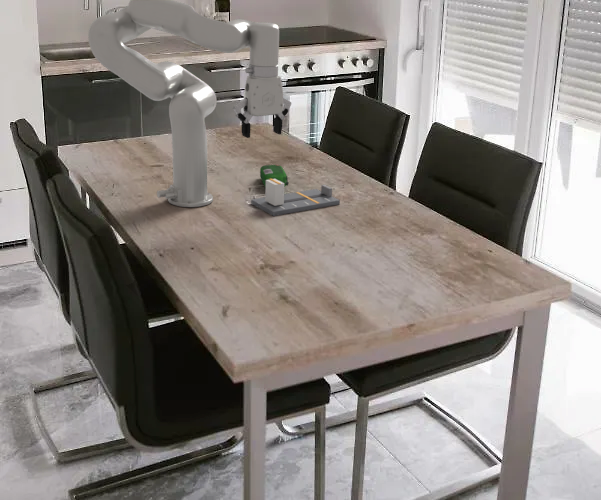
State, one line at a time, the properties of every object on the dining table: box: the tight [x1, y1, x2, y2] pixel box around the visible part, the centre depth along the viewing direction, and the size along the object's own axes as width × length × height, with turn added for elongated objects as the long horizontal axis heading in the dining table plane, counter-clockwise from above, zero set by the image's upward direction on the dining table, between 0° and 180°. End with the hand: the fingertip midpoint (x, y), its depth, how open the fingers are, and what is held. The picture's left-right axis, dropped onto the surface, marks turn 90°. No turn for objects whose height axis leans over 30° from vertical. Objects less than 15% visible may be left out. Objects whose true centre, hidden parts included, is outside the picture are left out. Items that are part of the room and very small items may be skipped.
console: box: [250, 184, 341, 217], centre depth 253 cm, size 22×12×4 cm, turn 123°
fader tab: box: [264, 179, 285, 206], centre depth 249 cm, size 3×5×6 cm, turn 33°
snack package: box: [259, 164, 289, 188], centre depth 269 cm, size 7×16×5 cm, turn 10°
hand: (261, 135), depth 242 cm, fingers open, 9 cm apart
